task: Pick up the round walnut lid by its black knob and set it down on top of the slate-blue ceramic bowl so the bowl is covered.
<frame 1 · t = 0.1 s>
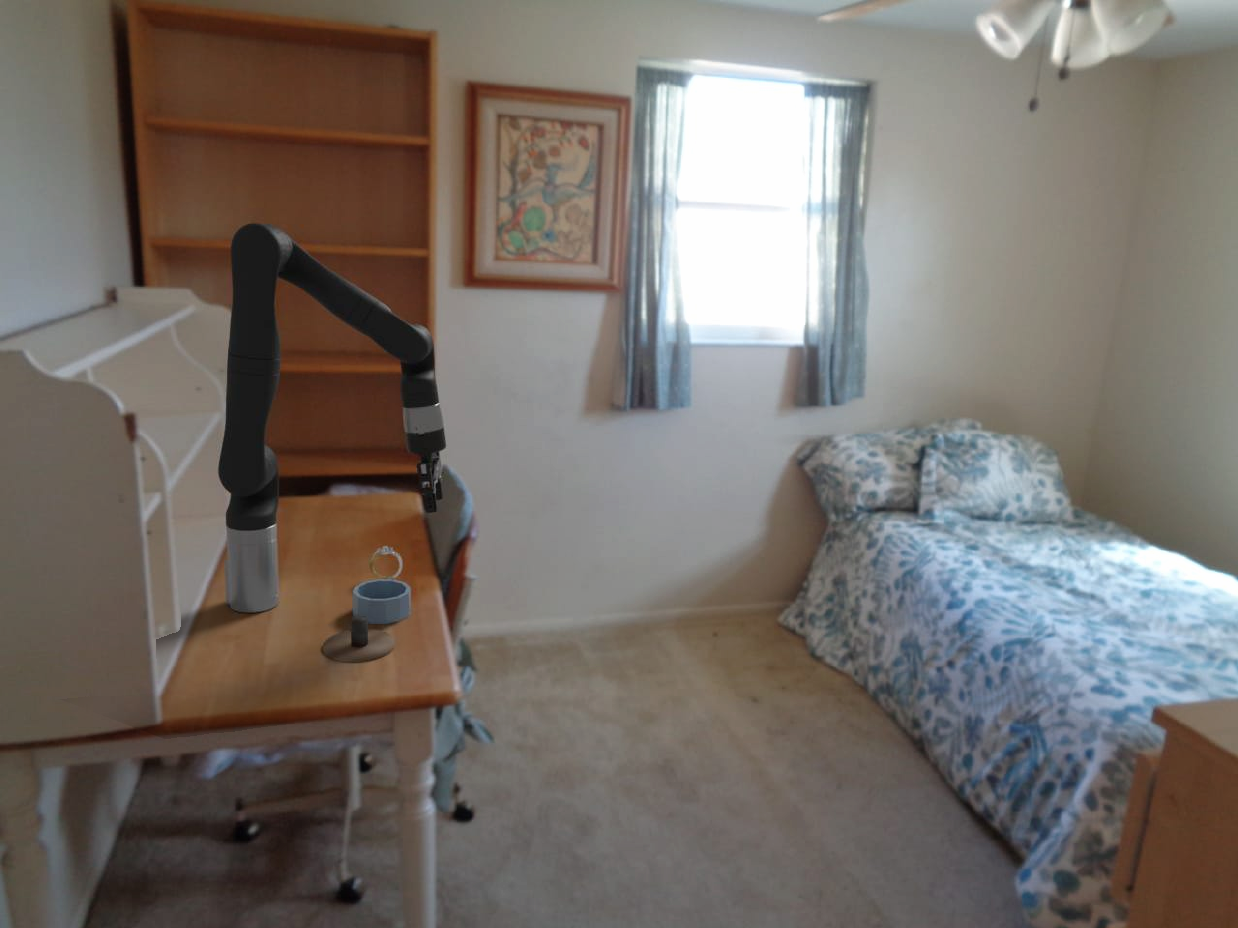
hand: (434, 505, 173), 22 cm above the table, tool pointing down, fingers open, 8 cm apart
ring: (386, 581, 191), on the table
bowl: (382, 612, 175), on the table
lid: (359, 647, 160), on the table
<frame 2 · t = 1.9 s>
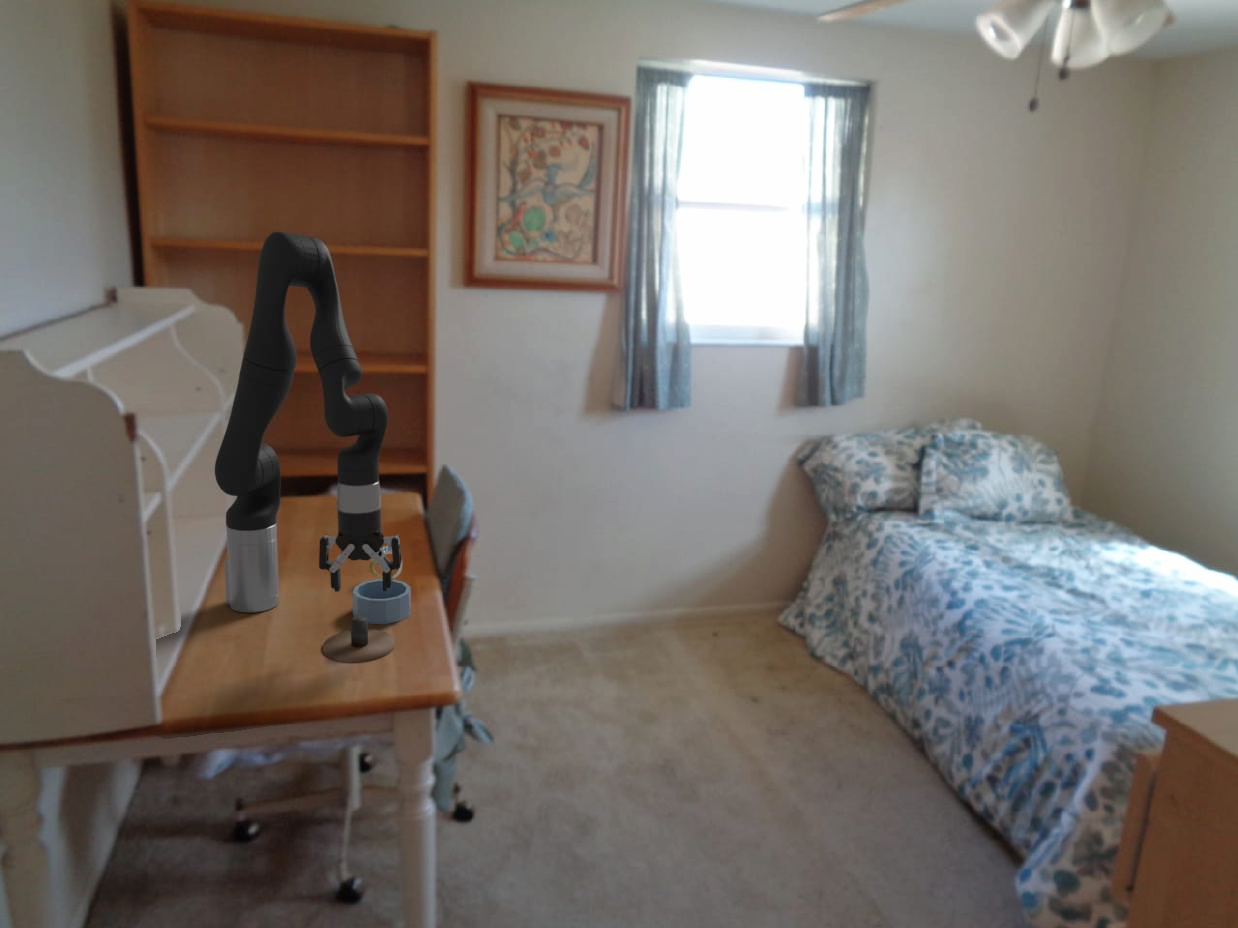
hand: (361, 589, 158), 11 cm above the table, tool pointing down, fingers open, 8 cm apart
nothing on the table moved.
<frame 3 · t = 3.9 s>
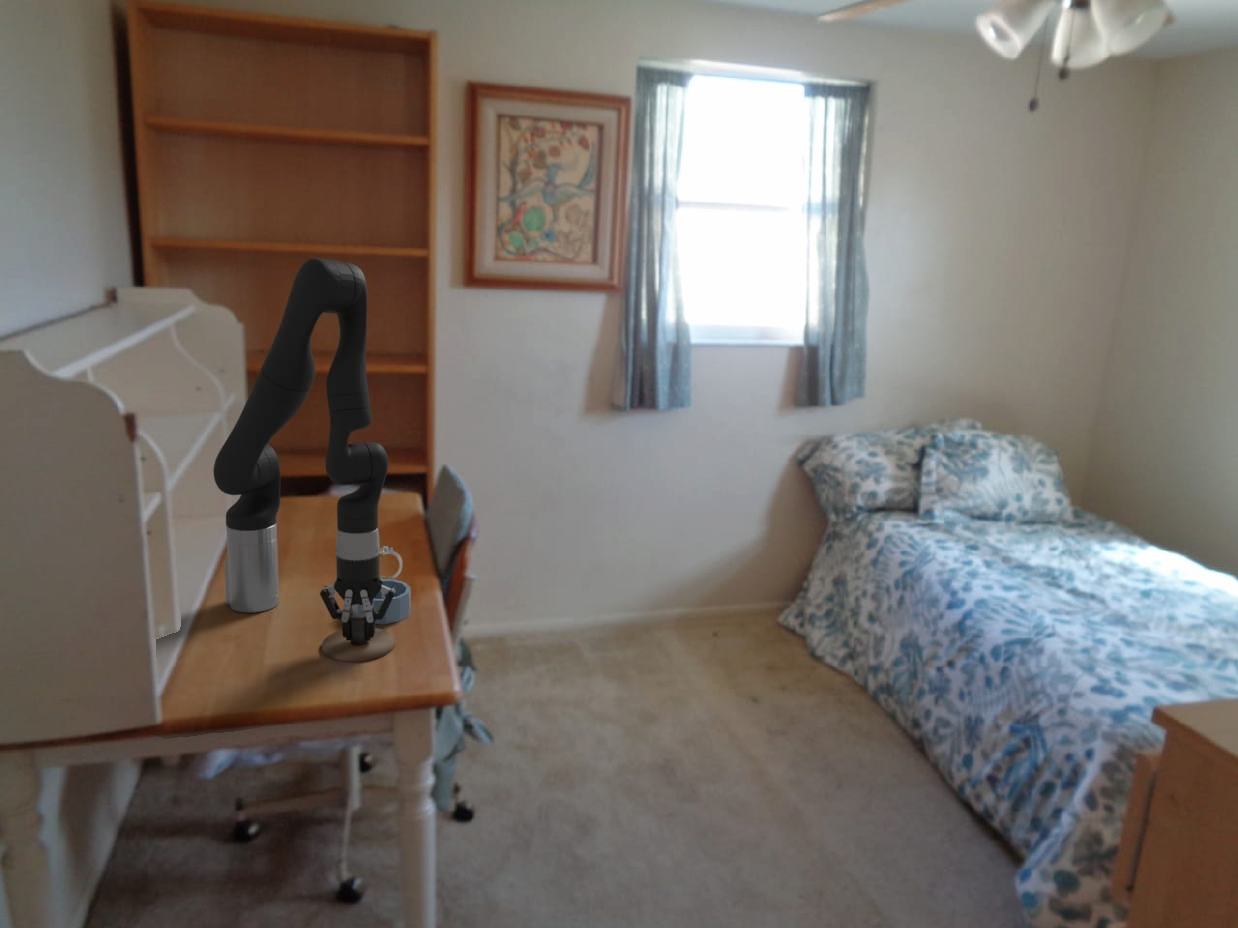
hand: (358, 638, 160), 1 cm above the table, tool pointing down, fingers closed on lid, 3 cm apart
lid: (359, 645, 160), on the table, touching gripper
everything else where it was.
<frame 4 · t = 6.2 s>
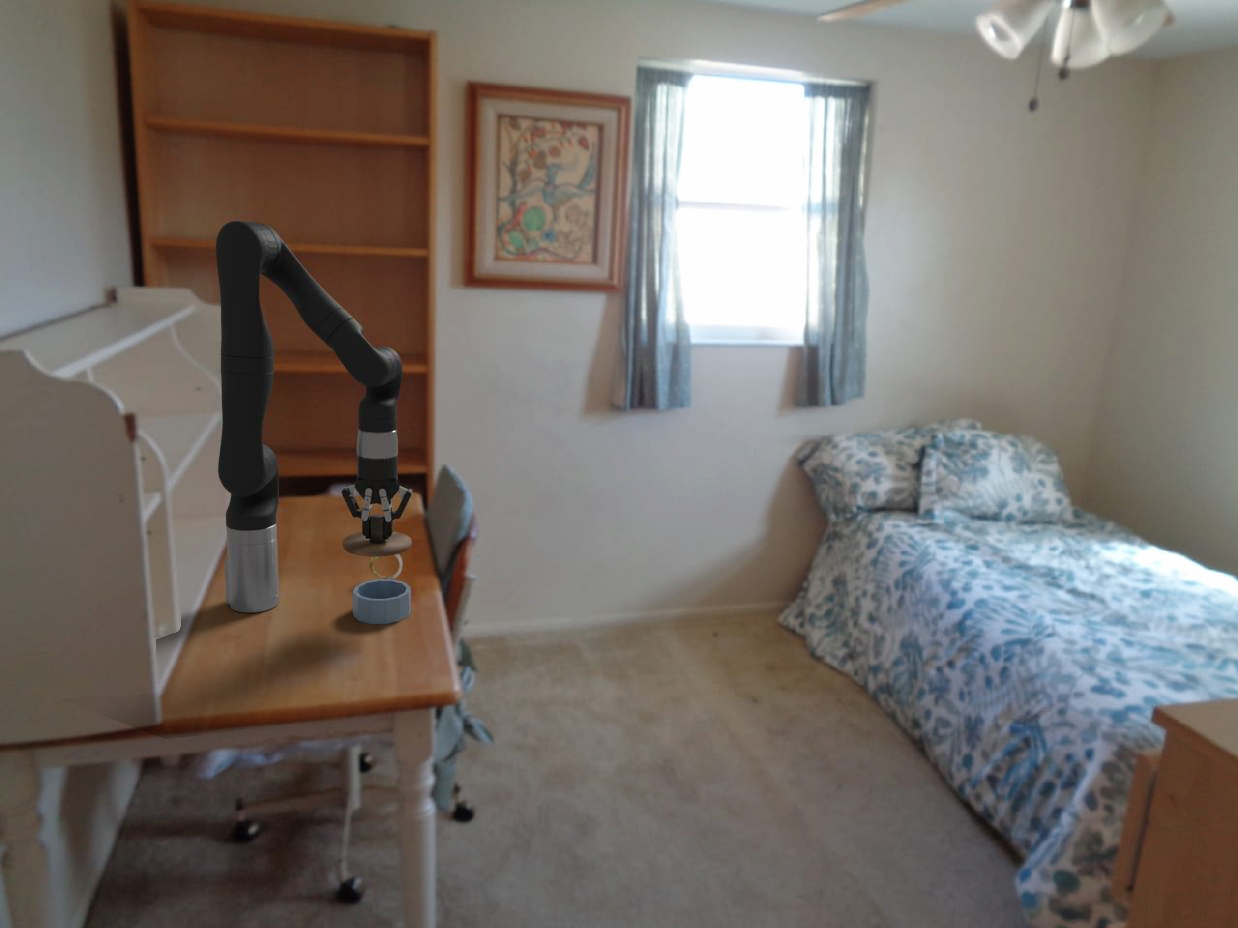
hand: (377, 537, 168), 17 cm above the table, tool pointing down, fingers closed on lid, 3 cm apart
lid: (377, 545, 169), point 15 cm above the table, touching gripper
everything else where it was.
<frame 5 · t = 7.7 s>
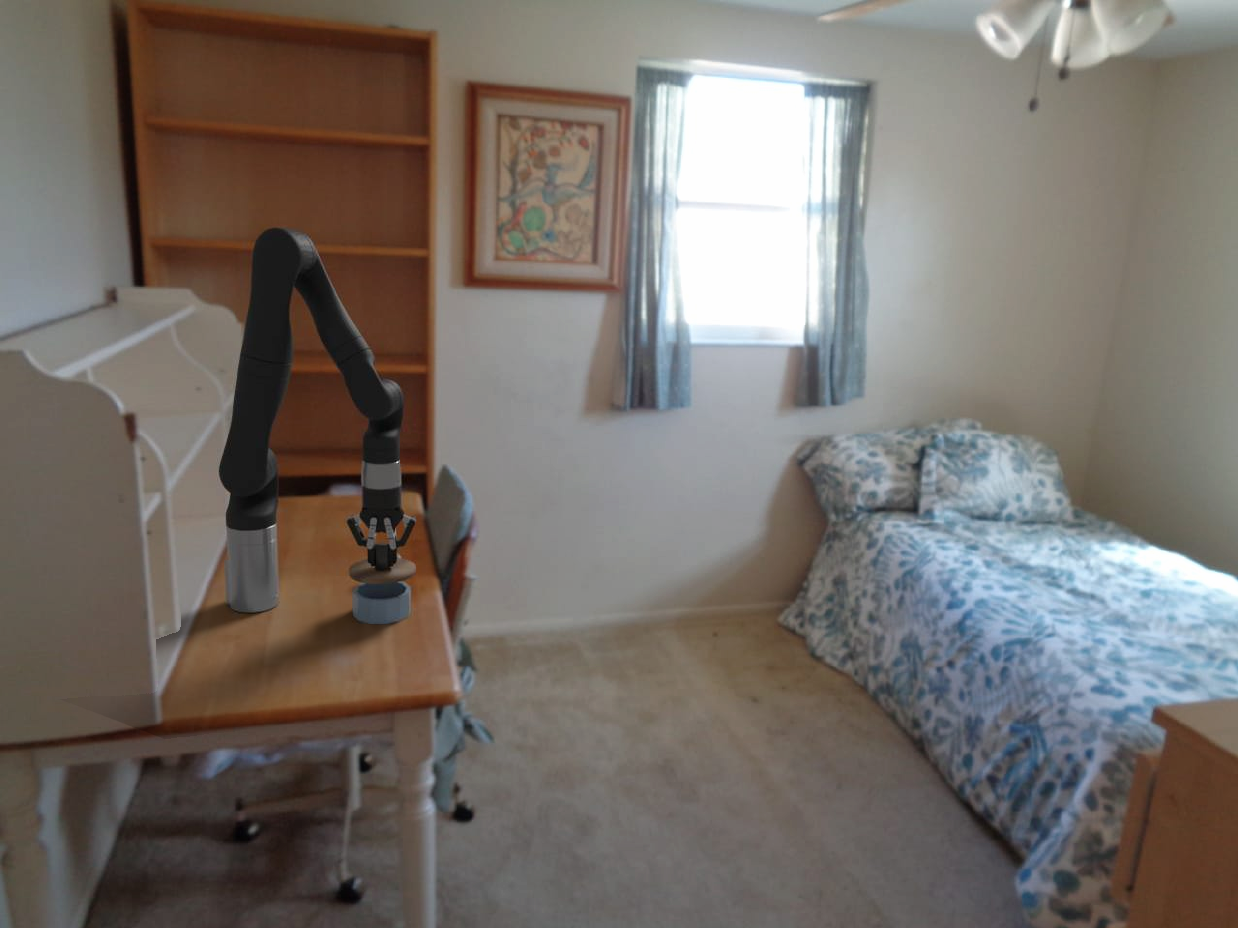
hand: (382, 564, 173), 10 cm above the table, tool pointing down, fingers closed on lid, 3 cm apart
lid: (382, 571, 173), point 9 cm above the table, touching gripper
everything else where it was.
when the fingers open (8 cm above the table, at t = 8.9 s): lid drops 1 cm, resting on bowl.
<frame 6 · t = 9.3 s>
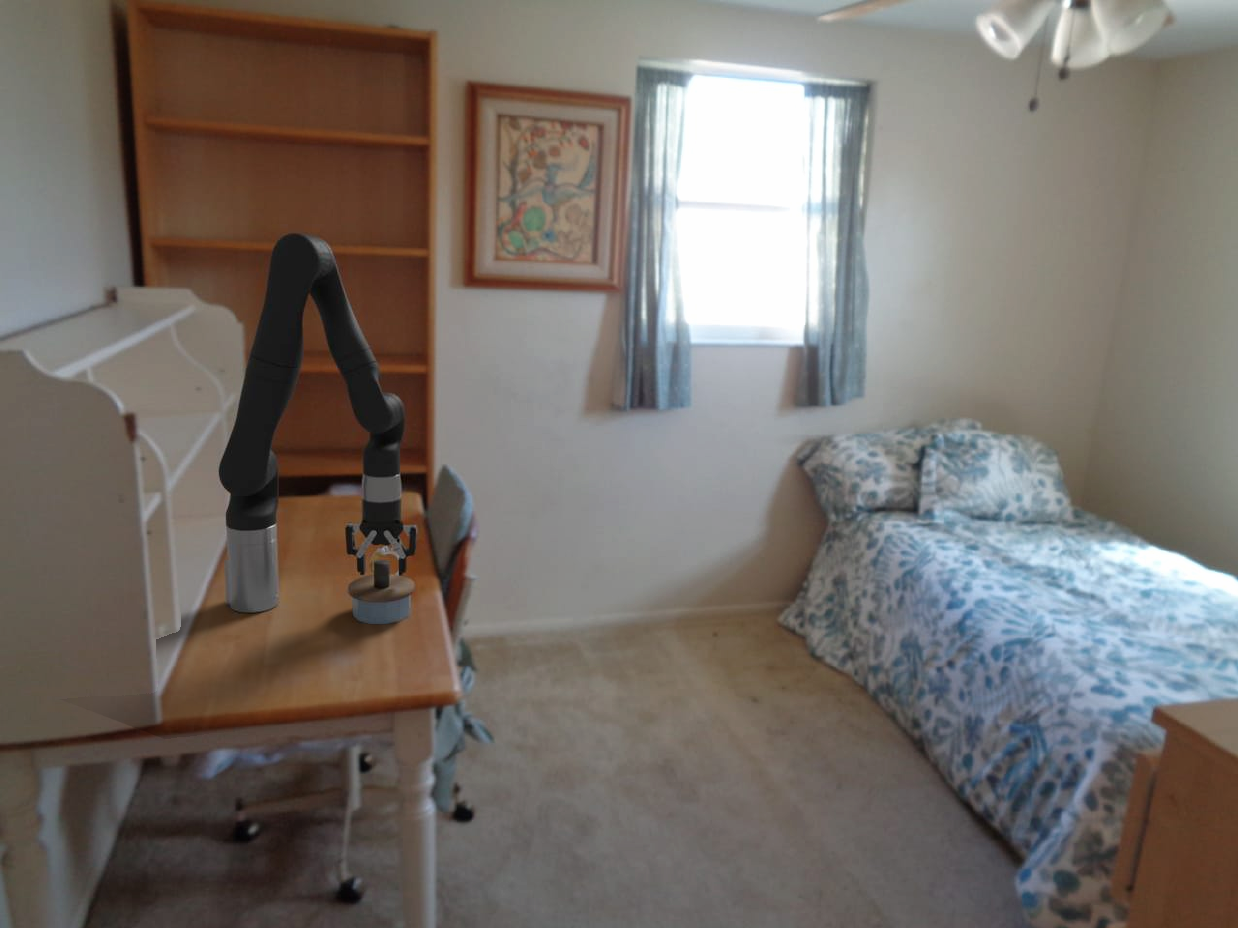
hand: (381, 573, 173), 8 cm above the table, tool pointing down, fingers open, 7 cm apart
bowl: (382, 612, 175), on the table, touching lid
lid: (381, 589, 174), point 5 cm above the table, touching bowl
everything else where it was.
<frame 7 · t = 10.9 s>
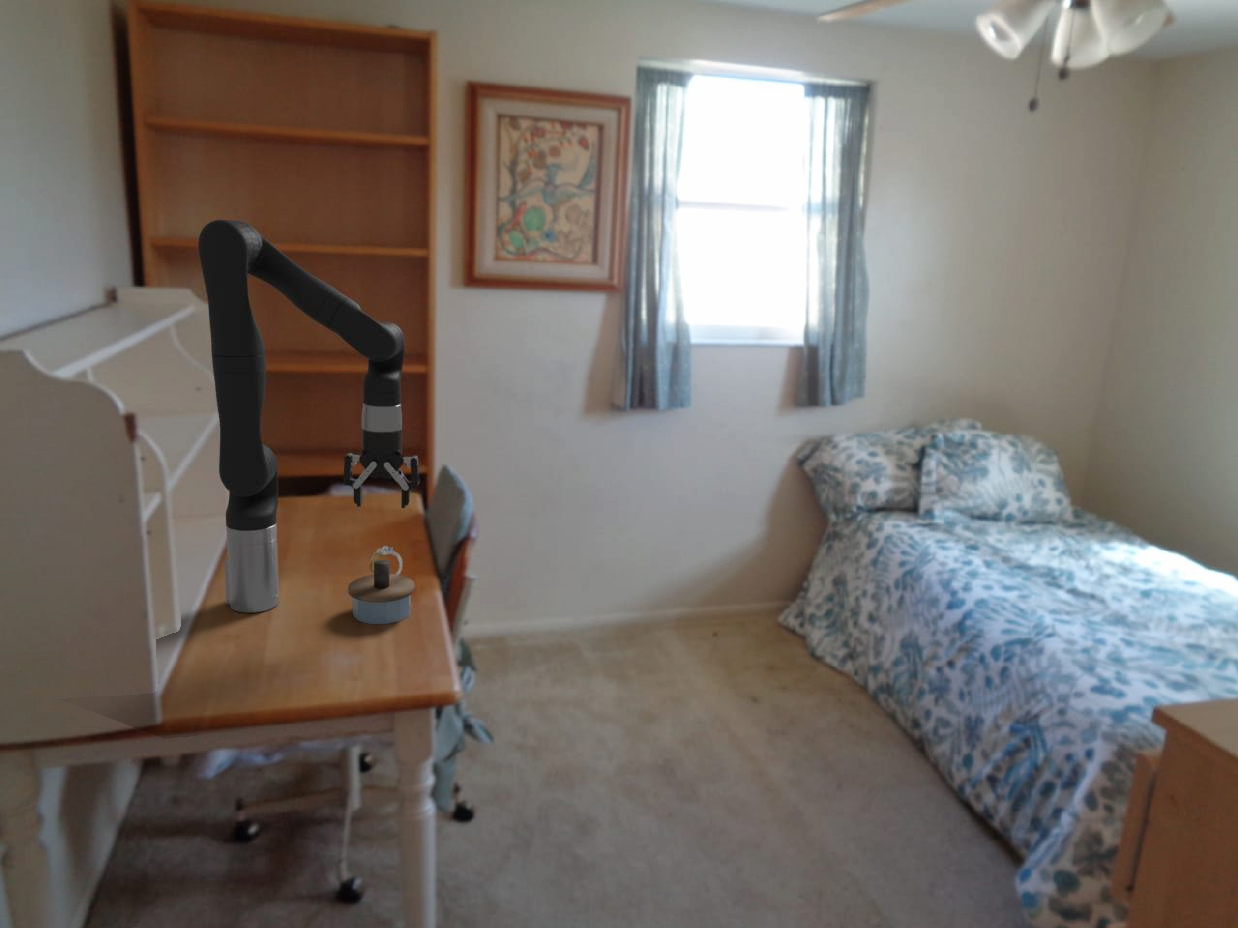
hand: (381, 506, 170), 22 cm above the table, tool pointing down, fingers open, 8 cm apart
nothing on the table moved.
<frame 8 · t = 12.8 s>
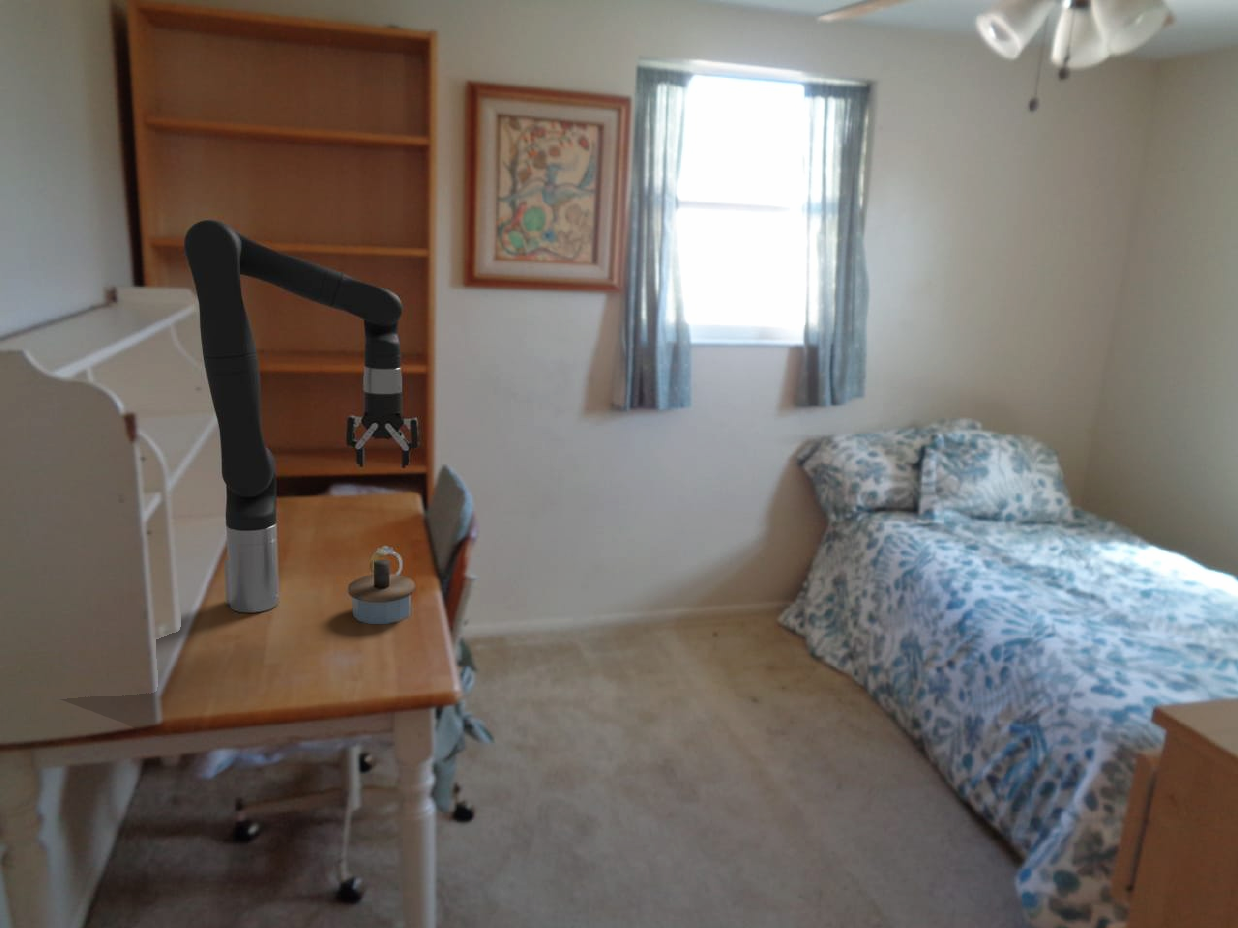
hand: (383, 466, 178), 28 cm above the table, tool pointing down, fingers open, 8 cm apart
nothing on the table moved.
at the end: lid 0.1 cm off-centre on the bowl, point 5.0 cm above the bowl's base; lid tilted 0°; the gripper is holding nothing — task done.
